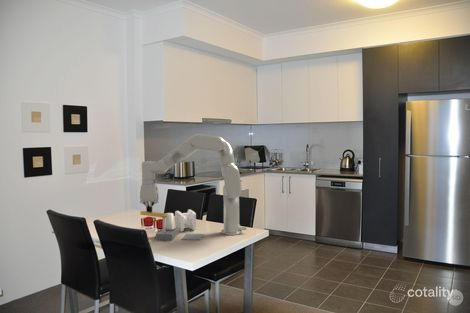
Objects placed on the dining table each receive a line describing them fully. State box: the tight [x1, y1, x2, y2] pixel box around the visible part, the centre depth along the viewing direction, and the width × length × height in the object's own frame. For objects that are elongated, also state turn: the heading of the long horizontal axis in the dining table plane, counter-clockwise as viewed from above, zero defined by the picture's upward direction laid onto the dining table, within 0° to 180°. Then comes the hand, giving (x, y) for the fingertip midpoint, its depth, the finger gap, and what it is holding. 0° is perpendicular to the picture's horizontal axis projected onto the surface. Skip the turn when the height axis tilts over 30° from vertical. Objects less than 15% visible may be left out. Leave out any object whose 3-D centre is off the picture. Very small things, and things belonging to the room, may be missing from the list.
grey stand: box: [155, 217, 180, 241], centre depth 222 cm, size 9×16×13 cm, turn 174°
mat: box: [180, 233, 205, 241], centre depth 221 cm, size 11×12×1 cm
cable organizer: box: [174, 209, 197, 233], centre depth 239 cm, size 15×11×12 cm
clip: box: [139, 210, 167, 218], centre depth 218 cm, size 3×18×2 cm, turn 61°
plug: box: [166, 212, 176, 231], centre depth 225 cm, size 6×6×13 cm
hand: (149, 213), depth 223 cm, fingers closed
